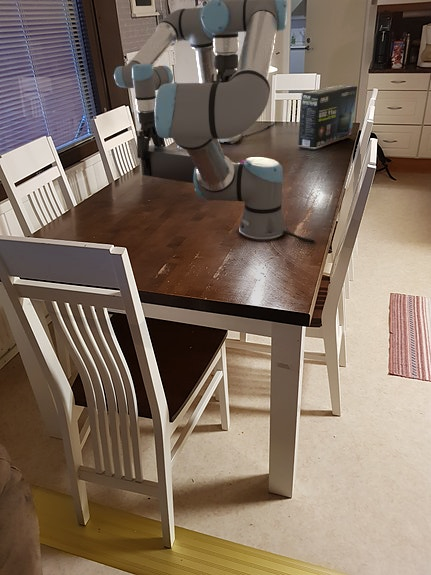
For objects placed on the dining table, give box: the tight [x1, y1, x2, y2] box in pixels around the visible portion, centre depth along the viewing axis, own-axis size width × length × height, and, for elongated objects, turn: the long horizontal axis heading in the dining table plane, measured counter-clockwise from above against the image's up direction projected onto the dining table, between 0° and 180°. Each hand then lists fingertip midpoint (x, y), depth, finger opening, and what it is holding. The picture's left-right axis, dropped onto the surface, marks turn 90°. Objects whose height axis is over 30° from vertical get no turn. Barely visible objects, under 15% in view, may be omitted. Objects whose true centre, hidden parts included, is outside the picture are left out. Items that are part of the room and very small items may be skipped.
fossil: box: [218, 132, 245, 145], centre depth 256 cm, size 18×11×15 cm
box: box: [139, 144, 196, 184], centre depth 173 cm, size 28×8×10 cm, turn 60°
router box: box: [297, 84, 358, 151], centre depth 238 cm, size 36×11×27 cm, turn 134°
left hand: (154, 171), depth 180 cm, fingers closed on box, 7 cm apart
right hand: (227, 127), depth 147 cm, fingers open, 13 cm apart
